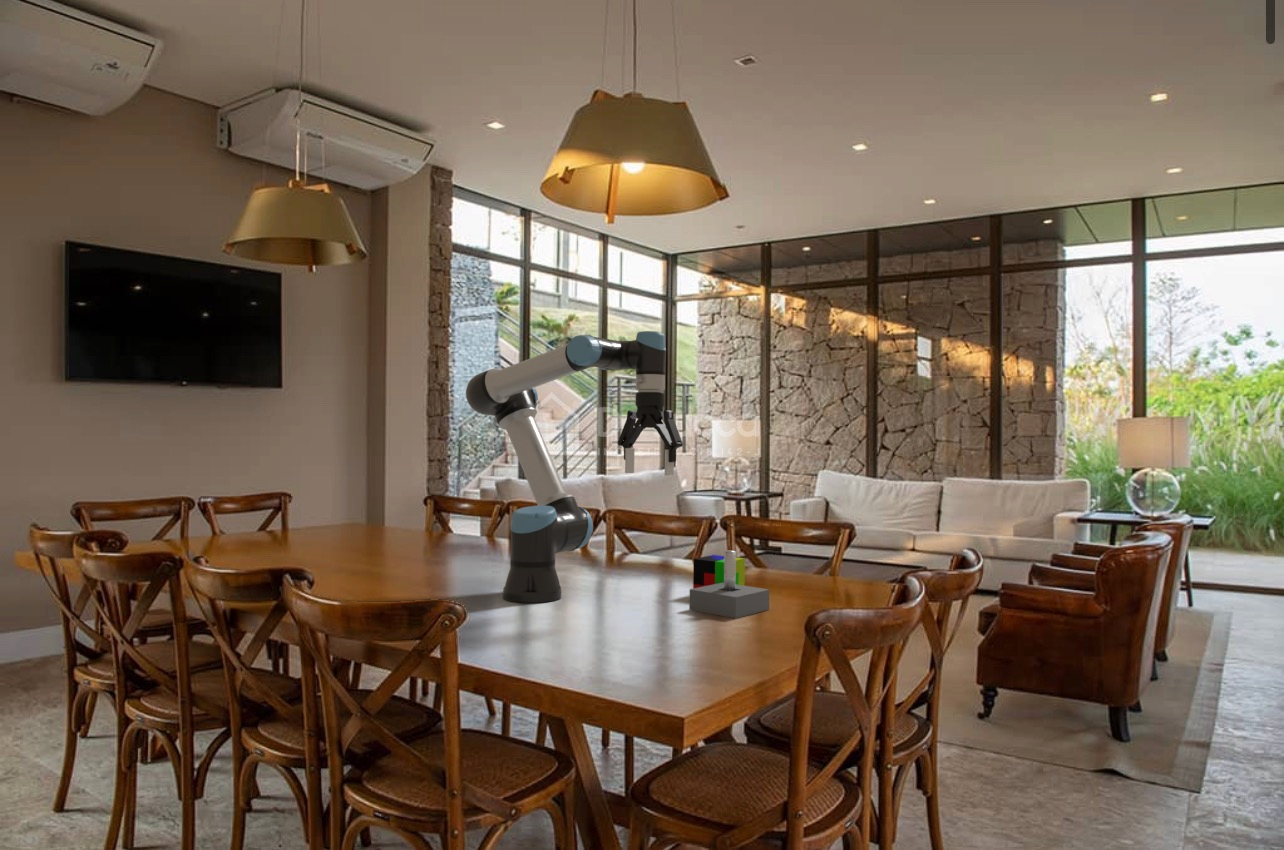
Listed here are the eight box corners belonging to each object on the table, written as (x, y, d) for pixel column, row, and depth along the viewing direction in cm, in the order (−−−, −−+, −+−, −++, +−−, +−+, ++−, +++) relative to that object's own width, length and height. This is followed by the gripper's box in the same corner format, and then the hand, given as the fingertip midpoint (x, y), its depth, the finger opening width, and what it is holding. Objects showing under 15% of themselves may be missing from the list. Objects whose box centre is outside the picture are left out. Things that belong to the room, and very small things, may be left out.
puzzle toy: (712, 591, 239) (713, 554, 239) (744, 595, 233) (744, 558, 234) (693, 596, 231) (693, 558, 231) (725, 601, 225) (726, 562, 225)
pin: (721, 603, 214) (722, 550, 214) (728, 602, 216) (729, 549, 216) (730, 605, 212) (731, 552, 212) (737, 603, 214) (738, 551, 214)
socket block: (689, 609, 213) (689, 589, 213) (723, 601, 224) (723, 582, 224) (735, 618, 204) (735, 597, 204) (769, 609, 214) (769, 589, 214)
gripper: (605, 392, 229) (604, 472, 229) (678, 390, 212) (676, 476, 212) (624, 393, 234) (623, 471, 234) (697, 391, 218) (696, 475, 217)
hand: (648, 474), depth 223 cm, fingers open, 13 cm apart
